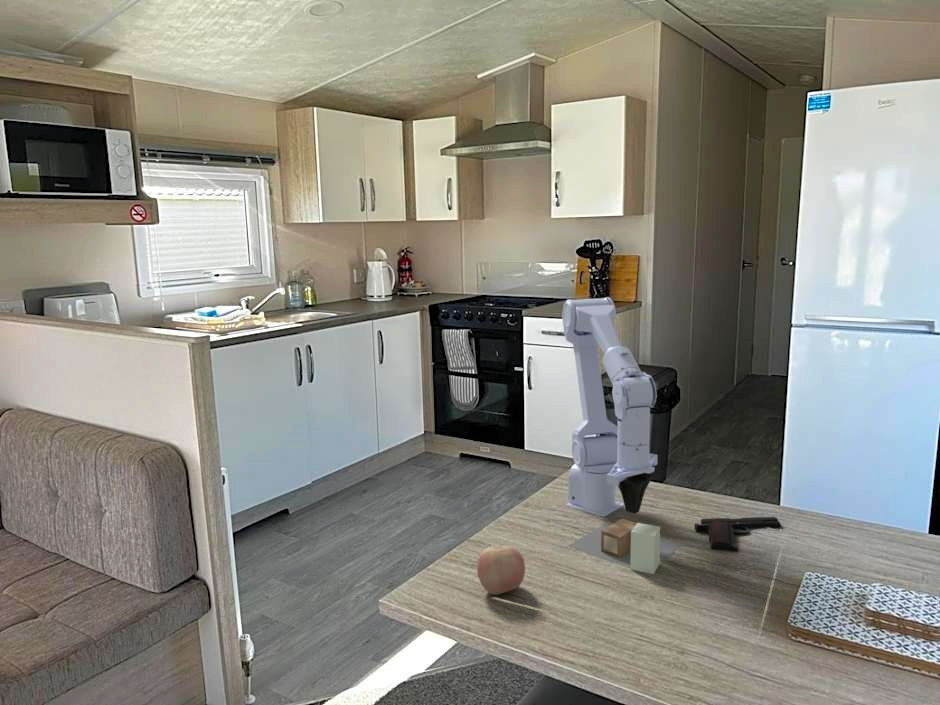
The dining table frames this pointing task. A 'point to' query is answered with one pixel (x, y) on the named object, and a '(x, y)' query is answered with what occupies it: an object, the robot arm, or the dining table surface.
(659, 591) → the dining table surface
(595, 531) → the mat
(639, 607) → the dining table surface
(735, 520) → the handgun
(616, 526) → the walnut block
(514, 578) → the apple
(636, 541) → the sage block
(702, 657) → the dining table surface
